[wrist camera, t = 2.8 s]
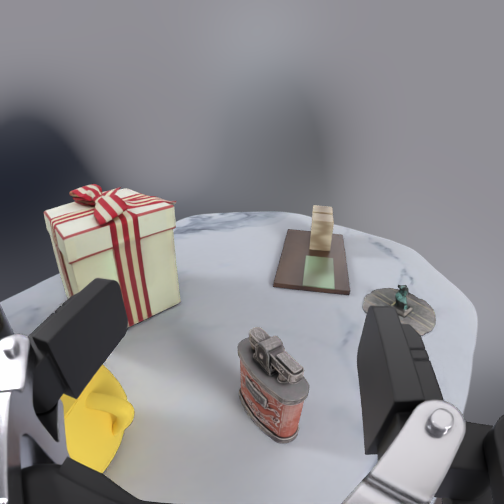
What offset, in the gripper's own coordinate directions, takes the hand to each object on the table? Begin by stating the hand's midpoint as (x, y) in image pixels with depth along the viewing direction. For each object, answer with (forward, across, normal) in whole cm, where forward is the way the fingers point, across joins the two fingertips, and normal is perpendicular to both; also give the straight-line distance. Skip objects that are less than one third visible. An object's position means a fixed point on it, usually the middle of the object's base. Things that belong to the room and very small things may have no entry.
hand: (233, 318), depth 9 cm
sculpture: (+30, -18, +20) cm, 40 cm away
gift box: (+27, +24, +19) cm, 41 cm away
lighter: (+11, 0, +20) cm, 23 cm away
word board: (+45, -4, +19) cm, 49 cm away
